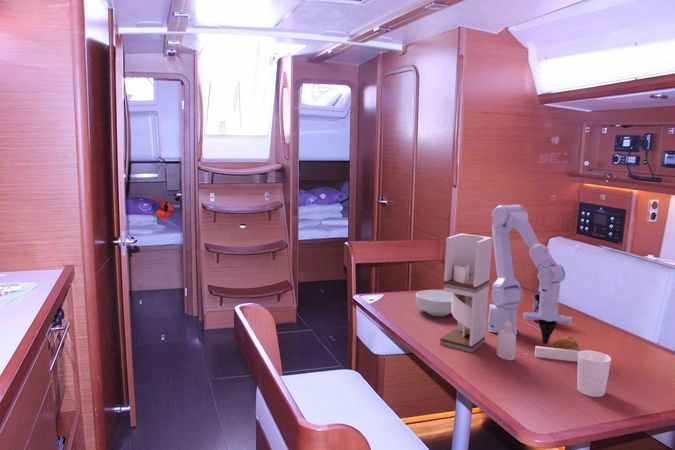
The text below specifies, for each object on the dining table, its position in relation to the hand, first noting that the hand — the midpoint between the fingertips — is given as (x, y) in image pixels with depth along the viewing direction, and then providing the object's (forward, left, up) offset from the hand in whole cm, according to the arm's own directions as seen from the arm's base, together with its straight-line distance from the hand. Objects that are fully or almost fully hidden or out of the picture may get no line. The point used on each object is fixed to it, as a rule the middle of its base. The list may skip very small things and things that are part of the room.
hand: (545, 342), depth 176 cm
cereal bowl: (-36, +24, -2) cm, 43 cm away
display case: (-26, -5, -2) cm, 26 cm away
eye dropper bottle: (-13, -13, -2) cm, 18 cm away
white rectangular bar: (+3, -9, -1) cm, 10 cm away
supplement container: (+2, +27, -2) cm, 27 cm away
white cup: (+8, -30, -2) cm, 31 cm away
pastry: (+6, 0, -2) cm, 6 cm away
